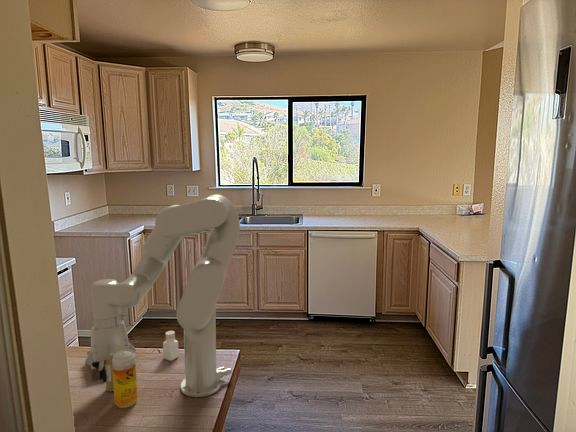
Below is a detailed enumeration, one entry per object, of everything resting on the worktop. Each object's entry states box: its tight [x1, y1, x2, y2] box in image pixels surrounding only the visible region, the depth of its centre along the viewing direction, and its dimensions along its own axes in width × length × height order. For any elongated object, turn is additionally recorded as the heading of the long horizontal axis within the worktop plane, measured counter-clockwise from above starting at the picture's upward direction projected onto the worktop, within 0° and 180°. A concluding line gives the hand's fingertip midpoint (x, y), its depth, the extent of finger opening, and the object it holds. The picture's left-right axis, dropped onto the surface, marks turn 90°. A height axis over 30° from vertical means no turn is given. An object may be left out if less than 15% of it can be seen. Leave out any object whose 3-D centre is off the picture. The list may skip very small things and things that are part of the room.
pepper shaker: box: [162, 330, 180, 362], centre depth 140 cm, size 4×4×10 cm
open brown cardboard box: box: [86, 350, 104, 382], centre depth 135 cm, size 13×14×6 cm
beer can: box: [112, 350, 138, 409], centre depth 114 cm, size 6×6×15 cm
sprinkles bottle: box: [104, 353, 114, 392], centre depth 121 cm, size 5×5×13 cm
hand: (112, 377), depth 121 cm, fingers closed on sprinkles bottle, 4 cm apart
